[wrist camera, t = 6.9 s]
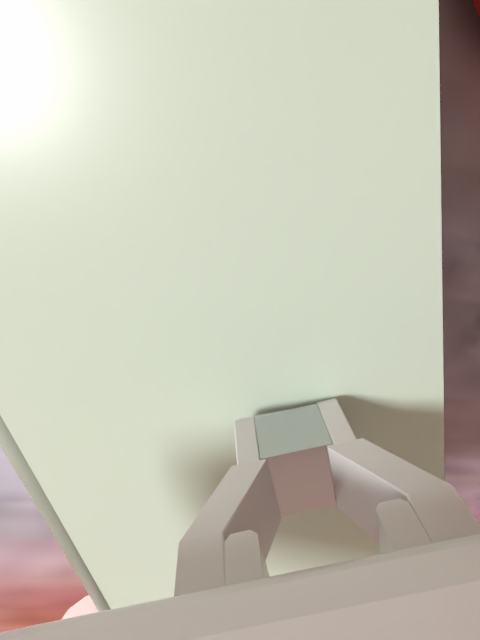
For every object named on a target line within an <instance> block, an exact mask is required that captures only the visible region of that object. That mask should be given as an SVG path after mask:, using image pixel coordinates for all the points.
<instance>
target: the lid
mask: <svg viewBox="0 0 480 640" xmlns="http://www.w3.org/2000/svg"><path fill="white" fill-rule="evenodd" d="M334 398H335V399H337V400H338V402H339V404H340V406H341V408H342V410H343V412H344V414H345V416H346V418H347V420H348V422H349V424H350V426H351V428H352V430H353V432H354V434H355V436H356V438H357V439H361V438H364V439H365V440H367V441H369V442H371V443H373V444H375V445H377V446H379V447H381V448H382V449H384V450H386V451H388V452H390V453H392V454H394V455H396V456H398V457H400V458H401V459H403V460H405V461H407V462H409V463H411V464H413V465H415V466H417V467H418V468H420V469H422V470H424V471H426V472H428V473H430V474H432V475H434V476H435V477H437V478H439V479H441V480H443V481H445V457H444V378H443V300H442V221H441V143H440V64H439V0H0V446H1V447H2V449H3V451H4V452H5V454H6V456H7V457H8V459H9V461H10V463H11V464H12V466H13V468H14V469H15V471H16V473H17V474H18V476H19V478H20V479H21V481H22V483H23V484H24V486H25V488H26V490H27V491H28V493H29V495H30V496H31V498H32V500H33V501H34V503H35V505H36V506H37V508H38V510H39V511H40V513H41V515H42V517H43V518H44V520H45V522H46V523H47V525H48V527H49V528H50V530H51V532H52V533H53V535H54V537H55V538H56V540H57V542H58V544H59V545H60V547H61V549H62V550H63V552H64V554H65V555H66V557H67V559H68V560H69V562H70V564H71V565H72V567H73V569H74V570H75V572H76V574H77V576H78V577H79V579H80V581H81V582H82V584H83V586H84V587H85V589H86V591H87V592H88V594H89V596H90V597H91V599H92V601H93V603H94V604H95V606H96V608H97V609H98V611H99V612H101V611H105V610H110V609H115V608H120V607H125V606H130V605H135V604H139V603H144V602H149V601H154V600H159V599H164V598H169V597H173V596H174V590H175V579H176V568H177V557H178V547H179V542H180V540H181V539H182V537H183V536H184V534H185V533H186V532H187V530H188V529H189V527H190V526H191V524H192V523H193V521H194V520H195V518H196V517H197V516H198V514H199V513H200V511H201V510H202V508H203V507H204V505H205V504H206V503H207V501H208V500H209V498H210V497H211V495H212V494H213V492H214V491H215V489H216V488H217V487H218V485H219V484H220V482H221V481H222V479H223V478H224V476H225V475H226V473H227V472H228V471H229V469H230V468H231V466H235V465H237V457H236V444H235V430H234V422H235V420H238V419H243V418H248V417H254V416H257V415H262V414H267V413H273V412H278V411H283V410H288V409H294V408H299V407H303V406H308V405H312V404H316V403H318V402H322V401H326V400H330V399H334ZM377 554H381V553H380V545H379V544H378V543H377V542H376V541H375V540H374V539H373V538H372V537H370V536H369V535H368V534H367V533H366V532H365V531H364V530H363V529H361V528H360V527H359V526H358V525H357V524H356V523H355V522H354V521H352V520H351V519H350V518H349V517H348V516H347V515H346V514H345V513H343V512H342V511H341V510H340V509H339V508H338V507H337V505H335V506H330V507H324V508H319V509H313V510H308V511H304V512H300V513H295V514H291V515H287V516H283V517H281V522H280V524H279V527H278V530H277V532H276V535H275V537H274V540H273V543H272V545H271V548H270V550H269V553H268V556H267V558H266V561H265V562H266V565H267V569H268V572H269V576H275V575H280V574H285V573H290V572H295V571H300V570H304V569H309V568H314V567H319V566H324V565H329V564H334V563H338V562H343V561H348V560H353V559H358V558H363V557H367V556H372V555H377Z"/></svg>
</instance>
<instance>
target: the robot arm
mask: <svg viewBox="0 0 480 640" xmlns="http://www.w3.org/2000/svg"><path fill="white" fill-rule="evenodd" d="M234 430H235V444H236V457H237V465H235V466H231V468H230V469H229V471H228V472H227V473H226V475H225V476H224V478H223V479H222V481H221V482H220V484H219V485H218V487H217V488H216V489H215V491H214V492H213V494H212V495H211V497H210V498H209V500H208V501H207V503H206V504H205V505H204V507H203V508H202V510H201V511H200V513H199V514H198V516H197V517H196V518H195V520H194V521H193V523H192V524H191V526H190V527H189V529H188V530H187V532H186V533H185V534H184V536H183V537H182V539H181V540H180V542H179V547H178V557H177V568H176V579H175V590H174V596H173V597H169V598H164V599H159V600H154V601H149V602H144V603H139V604H135V605H130V606H125V607H120V608H115V609H110V610H105V611H101V612H96V613H91V614H86V615H81V616H76V617H71V618H67V619H62V620H57V621H52V622H47V623H42V624H37V625H33V626H28V627H23V628H18V629H13V630H8V631H3V632H0V640H480V523H479V522H478V520H477V519H476V517H475V516H474V514H473V513H472V512H471V510H470V509H469V507H468V506H467V505H466V503H465V502H464V500H463V499H462V498H461V496H460V495H459V493H458V492H457V491H456V489H455V488H454V486H453V485H451V484H449V483H447V482H445V481H443V480H441V479H439V478H437V477H435V476H434V475H432V474H430V473H428V472H426V471H424V470H422V469H420V468H418V467H417V466H415V465H413V464H411V463H409V462H407V461H405V460H403V459H401V458H400V457H398V456H396V455H394V454H392V453H390V452H388V451H386V450H384V449H382V448H381V447H379V446H377V445H375V444H373V443H371V442H369V441H367V440H365V439H364V438H361V439H357V438H356V436H355V434H354V432H353V430H352V428H351V426H350V424H349V422H348V420H347V418H346V416H345V414H344V412H343V410H342V408H341V406H340V404H339V402H338V400H337V399H335V398H334V399H330V400H326V401H322V402H318V403H316V404H312V405H308V406H303V407H299V408H294V409H288V410H283V411H278V412H273V413H267V414H262V415H257V416H254V417H248V418H243V419H238V420H235V422H234ZM335 505H337V507H338V508H339V509H340V510H341V511H342V512H343V513H345V514H346V515H347V516H348V517H349V518H350V519H351V520H352V521H354V522H355V523H356V524H357V525H358V526H359V527H360V528H361V529H363V530H364V531H365V532H366V533H367V534H368V535H369V536H370V537H372V538H373V539H374V540H375V541H376V542H377V543H378V544H379V545H380V553H381V554H377V555H372V556H367V557H363V558H358V559H353V560H348V561H343V562H338V563H334V564H329V565H324V566H319V567H314V568H309V569H304V570H300V571H295V572H290V573H285V574H280V575H275V576H269V572H268V569H267V565H266V562H265V561H266V558H267V556H268V553H269V550H270V548H271V545H272V543H273V540H274V537H275V535H276V532H277V530H278V527H279V524H280V522H281V517H283V516H287V515H291V514H295V513H300V512H304V511H308V510H313V509H319V508H324V507H330V506H335Z"/></svg>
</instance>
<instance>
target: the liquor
mask: <svg viewBox="0 0 480 640" xmlns="http://www.w3.org/2000/svg"><path fill="white" fill-rule="evenodd" d="M473 2H474V5H475V7H476V10H477V13H478V15H479V18H480V0H473Z"/></svg>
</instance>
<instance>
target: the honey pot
mask: <svg viewBox="0 0 480 640" xmlns="http://www.w3.org/2000/svg"><path fill="white" fill-rule="evenodd" d="M96 612H99V611H98V609H97V608H96V606H95V604H94V603H93V601H92V599H91V597H90V596H89V595H88V596H86V597H84V598H83V599H81V600H80V601H79V602H77V603H76V604H75V605H74V606H72V607H71V608H70V609H68V611H67V612H66V614H65V615H64V617H63V618H62V619H67V618H71V617H76V616H81V615H86V614H91V613H96ZM62 619H61V620H62Z"/></svg>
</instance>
